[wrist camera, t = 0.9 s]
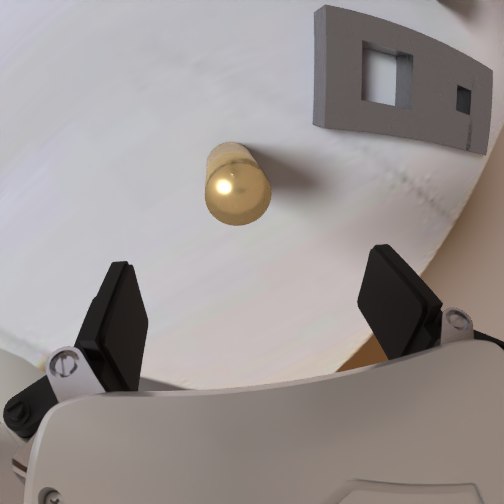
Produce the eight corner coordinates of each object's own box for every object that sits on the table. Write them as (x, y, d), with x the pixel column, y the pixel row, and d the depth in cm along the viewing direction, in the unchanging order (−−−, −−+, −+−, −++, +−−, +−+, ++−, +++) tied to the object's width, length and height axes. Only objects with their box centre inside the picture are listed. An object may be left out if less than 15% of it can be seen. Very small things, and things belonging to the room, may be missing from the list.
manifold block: (313, 12, 19) (325, 4, 16) (476, 68, 22) (492, 70, 19) (312, 124, 25) (324, 128, 23) (471, 149, 28) (486, 155, 25)
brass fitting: (206, 143, 25) (203, 165, 17) (253, 141, 25) (272, 162, 18) (208, 187, 27) (207, 227, 20) (253, 185, 28) (270, 223, 20)
